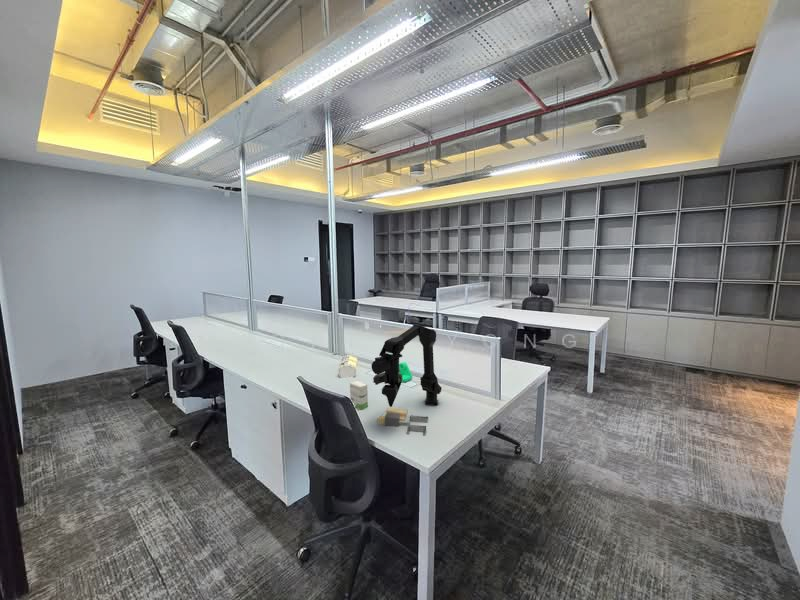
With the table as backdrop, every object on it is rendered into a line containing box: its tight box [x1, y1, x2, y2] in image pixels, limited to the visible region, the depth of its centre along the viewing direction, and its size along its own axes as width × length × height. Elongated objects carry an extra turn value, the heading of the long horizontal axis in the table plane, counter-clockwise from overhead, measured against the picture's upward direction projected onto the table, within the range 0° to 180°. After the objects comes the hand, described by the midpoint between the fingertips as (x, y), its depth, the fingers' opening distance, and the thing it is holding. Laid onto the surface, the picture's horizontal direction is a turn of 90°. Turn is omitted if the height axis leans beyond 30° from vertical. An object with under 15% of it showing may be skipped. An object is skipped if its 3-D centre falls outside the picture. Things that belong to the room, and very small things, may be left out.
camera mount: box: [399, 361, 413, 382], centre depth 202 cm, size 12×8×10 cm, turn 52°
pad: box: [383, 407, 408, 421], centre depth 156 cm, size 10×10×1 cm
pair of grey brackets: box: [406, 414, 429, 436], centre depth 145 cm, size 16×8×2 cm, turn 171°
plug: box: [377, 413, 411, 428], centre depth 147 cm, size 4×14×4 cm, turn 81°
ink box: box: [349, 380, 369, 411], centre depth 164 cm, size 9×5×12 cm, turn 47°
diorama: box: [338, 353, 358, 379], centre depth 217 cm, size 25×10×13 cm, turn 5°
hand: (392, 402), depth 146 cm, fingers open, 9 cm apart
